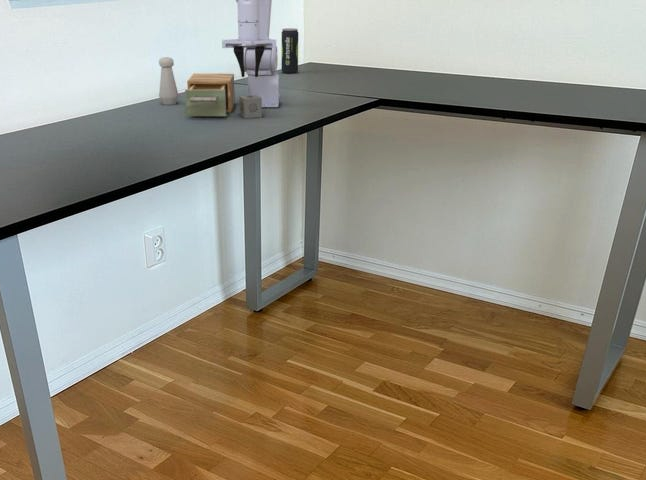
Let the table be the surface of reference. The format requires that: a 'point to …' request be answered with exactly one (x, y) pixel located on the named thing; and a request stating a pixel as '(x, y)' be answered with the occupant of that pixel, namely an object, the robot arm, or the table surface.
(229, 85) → the tan wooden box
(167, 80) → the salt shaker
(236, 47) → the robot arm
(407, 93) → the table surface
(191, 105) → the drawer
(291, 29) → the beverage can
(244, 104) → the dice cube
